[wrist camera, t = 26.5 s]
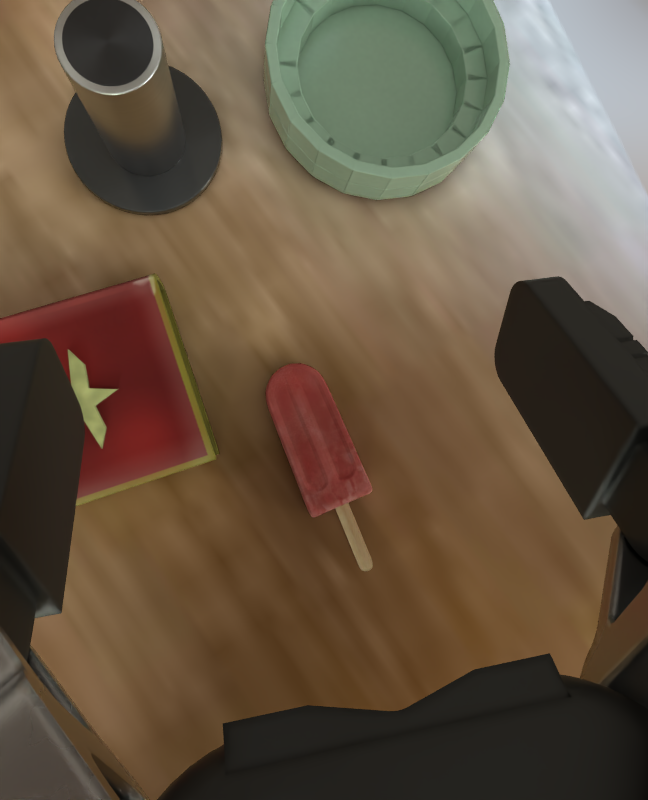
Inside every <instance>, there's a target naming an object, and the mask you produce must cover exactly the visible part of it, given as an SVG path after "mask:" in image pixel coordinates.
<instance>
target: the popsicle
mask: <svg viewBox="0 0 648 800" xmlns="http://www.w3.org/2000/svg"><path fill="white" fill-rule="evenodd" d="M265 394H266V402H267V405H268V409H269V412H270V414H271V417H272V419H273V422H274V425H275V427H276V430H277V433H278V435H279V438H280V440H281V443H282V446H283V448H284V451H285V453H286V456H287V458H288V461H289V463H290V466H291V469H292V471H293V474H294V476H295V479H296V481H297V484H298V487H299V489H300V492H301V494H302V497H303V500H304V503H305V505H306V507H307V510H308V512H309V514H310V516H311V517H317V516H319V515H321V514H324V513H326V512H328V511H330V510H333V509H335V510H336V512H337V514H338V517H339V519H340V522H341V524H342V527H343V529H344V531H345V534H346V536H347V539H348V541H349V544H350V546H351V548H352V551H353V553H354V556H355V558H356V561H357V563H358V565H359V567H360V568H361V570H363V571H369V570H370V569H371V568H372V565H373V564H372V559H371V557H370V554H369V552H368V550H367V547H366V545H365V542H364V540H363V537H362V535H361V533H360V530H359V528H358V525H357V523H356V520H355V518H354V516H353V513H352V511H351V508H350V506H349V503H348V502H351V501H353V500H355V499H358V498H360V497H362V496H364V495H367V494H369V493H371V491H372V486H371V484H370V481H369V479H368V477H367V475H366V472H365V470H364V468H363V466H362V463H361V461H360V459H359V457H358V454H357V452H356V450H355V447H354V445H353V443H352V440H351V438H350V436H349V434H348V431H347V429H346V427H345V424H344V422H343V420H342V418H341V415H340V413H339V411H338V409H337V406H336V404H335V402H334V399H333V397H332V395H331V393H330V391H329V388H328V386H327V384H326V382H325V380H324V379H323V377H322V376H321V375H320V373H319V372H318V371H317V370H315V369H314V368H312V367H310V366H308V365H305V364H302V363H296V364H288V365H285V366H283V367H281V368H279V369H278V370H277V371H276V372H275V373H274V374H273V375H272V376H271V378H270V380H269V382H268V384H267V387H266V392H265Z"/></svg>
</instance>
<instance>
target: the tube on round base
mask: <svg viewBox="0 0 648 800" xmlns="http://www.w3.org/2000/svg"><path fill="white" fill-rule="evenodd" d="M54 47H55V51H56V55H57V58H58V60H59V62H60V64H61V66H62V68H63V70H64V72H65V73H66V75H67V77H68V79H69V80H70V82H71V84H72V86H73V87H74V89H75V91H76V93H77V95H78V96H79V98H80V100H81V102H82V103H83V105H84V107H85V109H86V111H87V112H88V114H89V116H90V118H91V119H92V121H93V123H94V125H95V127H96V128H97V130H98V132H99V134H100V135H101V137H102V139H103V141H104V142H105V144H106V146H107V148H108V150H109V151H110V153H111V155H112V156H113V158H114V159H115V161H116V162H117V163H118V164H119V165H120V166H121V167H123V168H124V169H126V170H127V171H129V172H131V173H134V174H137V175H141V176H155V175H159V174H162V173H165V172H167V171H168V170H170V169H171V168H172V167H174V166H175V165H176V164H177V162H178V161H179V160H180V158H181V156H182V154H183V151H184V148H185V132H184V128H183V124H182V120H181V116H180V112H179V108H178V103H177V99H176V95H175V91H174V87H173V83H172V79H171V75H170V71H169V67H168V62H167V58H166V54H165V50H164V46H163V42H162V38H161V34H160V31H159V28H158V26H157V24H156V22H155V20H154V18H153V17H152V15H151V14H150V13H149V12H148V11H147V9H146V8H144V7H143V6H142V5H141V4H140V3H138V2H137V1H136V0H73V1H72V2H70V3H69V4H68V5H67V6H66V7H65V9H64V10H63V11H62V13H61V14H60V16H59V18H58V20H57V23H56V27H55V32H54Z"/></svg>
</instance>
